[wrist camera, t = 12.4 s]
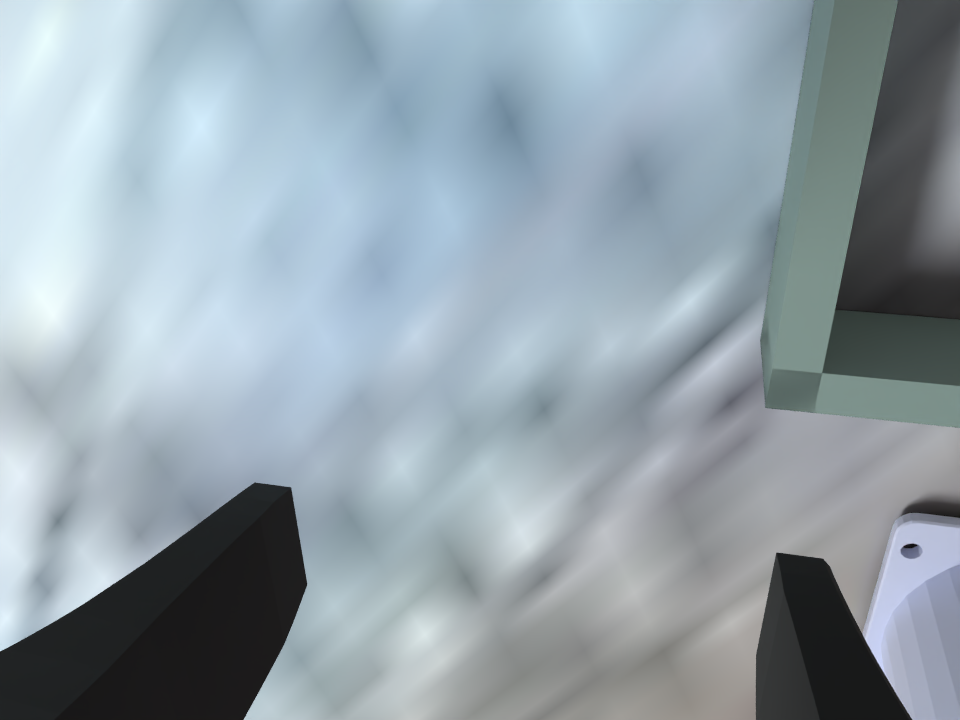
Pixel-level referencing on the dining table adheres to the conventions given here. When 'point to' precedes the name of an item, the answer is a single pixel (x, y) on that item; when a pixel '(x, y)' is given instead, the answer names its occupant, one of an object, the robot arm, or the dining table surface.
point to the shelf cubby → (844, 250)
